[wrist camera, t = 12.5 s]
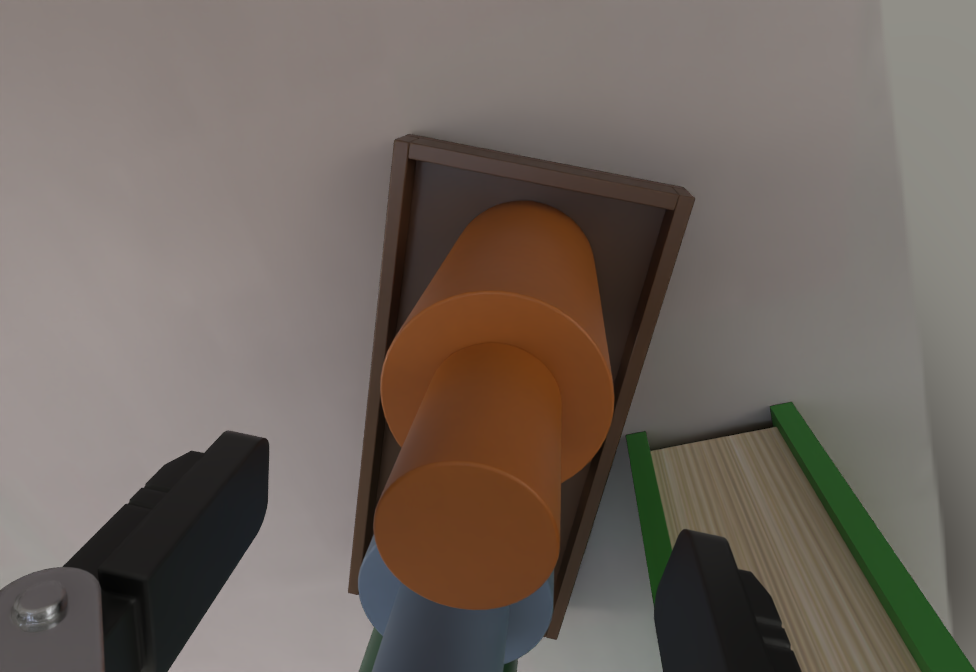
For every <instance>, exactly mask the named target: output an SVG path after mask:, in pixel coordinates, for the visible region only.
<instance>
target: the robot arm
mask: <svg viewBox="0 0 976 672" xmlns="http://www.w3.org/2000/svg"><path fill="white" fill-rule="evenodd" d="M268 474H269V443H268V440H267V439H266V438H262V437H257V436H252V435H248V434H243V433H238V432H233V431H225V432H224V433H223V434H222V435H221V436H220V437H219V438H218V439H217V440H216V441H215V442H214V443H213V444H212V445H211V446H210V447H209V448H208V450H207V451H206V452H205V453H200V452H196V451H190V452H188V453H186V454H184V455H182V456H180V457H179V458H177V459H175V460H173V461H171V462H169V463H167V464H165V465H164V466H163V467H162V468H161V469H160V470H159V471H158V472H157V473H156V474H155V475H154V476H153V477H152V478H151V479H150V480H149V481H148V482H147V483H146V485H145V487H144V488H141V489H140V490H139V491H138V492H137V493H136V494H135V495H134V496H133V497H132V498H131V499H130V501H129V503H128V504H125V505H124V506H123V507H122V508H121V509H120V510H119V511H118V512H117V513H116V514H115V515H114V516H113V517H112V518H111V519H110V520H109V521H108V522H107V523H106V524H105V525H104V526H103V527H102V528H101V529H100V530H99V531H98V532H97V533H96V534H95V535H94V536H93V537H92V538H91V539H90V540H89V541H88V542H87V543H86V544H85V545H84V546H83V547H82V548H81V549H80V550H79V551H78V552H77V553H76V554H75V555H74V556H73V557H72V558H71V559H70V560H69V561H68V562H67V563H66V564H65V565H64V566H63V567H57V568H50V569H44V570H40V571H37V572H33V573H31V574H28V575H26V576H23V577H21V578H19V579H17V580H15V581H13V582H11V583H10V584H8V585H7V586H5V587H4V588H2V589H1V590H0V672H168V670H169V669H170V667H171V665H172V664H173V662H174V661H175V659H176V658H177V656H178V655H179V653H180V652H181V650H182V649H183V647H184V646H185V644H186V642H187V641H188V639H189V638H190V636H191V635H192V633H193V632H194V630H195V629H196V627H197V626H198V624H199V623H200V621H201V619H202V618H203V616H204V615H205V613H206V612H207V610H208V609H209V607H210V606H211V604H212V603H213V601H214V600H215V598H216V596H217V595H218V593H219V592H220V590H221V589H222V587H223V586H224V584H225V583H226V581H227V580H228V578H229V576H230V575H231V573H232V572H233V570H234V569H235V567H236V566H237V564H238V563H239V561H240V560H241V558H242V557H243V555H244V553H245V552H246V550H247V549H248V547H249V546H250V544H251V543H252V541H253V540H254V538H255V537H256V535H257V533H258V531H259V530H260V527H261V525H262V523H263V520H264V517H265V513H266V509H267V503H268ZM654 620H655V627H656V633H657V638H658V644H659V650H660V656H661V662H662V668H663V672H802V671H801V668H800V666H799V664H798V661H797V659H796V656H795V654H794V651H793V650H791V648H790V647H791V644H790V641H789V639H788V636H787V634H786V631H785V629H784V628H782V621H781V619H780V616H779V614H778V611H777V609H776V606H775V604H774V601H773V599H772V596H771V595H770V594H769V593H768V592H767V590H766V589H765V588H764V587H763V585H762V584H761V583H760V582H759V580H758V579H757V578H756V577H755V576H754V574H753V573H752V572H750V571H746V570H741V569H738V567H737V564H736V562H735V559H734V556H733V553H732V550H731V548H730V545H729V542H728V541H727V539H726V538H725V537H722V536H717V535H712V534H708V533H703V532H698V531H693V530H689V529H683V530H682V531H681V532H680V533H679V535H678V537H677V540H676V542H675V545H674V547H673V550H672V552H671V555H670V558H669V560H668V563H667V565H666V568H665V570H664V573H663V575H662V578H661V580H660V583H659V585H658V588H657V592H656V597H655V605H654Z"/></svg>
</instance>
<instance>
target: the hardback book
mask: <svg viewBox="0 0 976 672" xmlns="http://www.w3.org/2000/svg"><path fill="white" fill-rule="evenodd" d="M770 410H771V416H772V422H773V428H768V429H762V430H757V431H752V432H747V433H742V434H736V435H731V436H726V437H721V438H716V439H710V440H705V441H700V442H695V443H690V444H684V445H679V446H674V447H669V448H664V449H658V450H653V451H650V447H649V443H648V439H647V435H646V431H644V432H639V433H634V434H629V435H626V440H627V446H628V452H629V458H630V464H631V470H632V476H633V482H634V488H635V494H636V500H637V506H638V512H639V518H640V524H641V530H642V536H643V542H644V548H645V554H646V561H647V567H648V573H649V579H650V585H651V591H652V597H653V603H654V605H655V597H656V592H657V588H658V585H659V583H660V580H661V578H662V575H663V573H664V570H665V568H666V565H667V563H668V560H669V558H670V555H671V552H672V550H673V547H674V545H675V542H676V540H677V537H678V535H679V533H680V532H681V531H682V530H683V529H689V530H693V531H698V532H703V533H708V534H712V535H717V536H722V537H725V538H726V539H727V541H728V542H729V545H730V548H731V550H732V553H733V556H734V559H735V562H736V564H737V567H738V569H741V570H746V571H750V572H752V573H753V574H754V576H755V577H756V578H757V579H758V580H759V582H760V583H761V584H762V585H763V587H764V588H765V589H766V590H767V592H768V593H769V594H770V595H771V596H772V599H773V601H774V604H775V606H776V609H777V611H778V614H779V616H780V619H781V621H782V628H784V629H785V631H786V634H787V636H788V639H789V641H790V644H791V647H790V648H791V650H793V651H794V654H795V656H796V659H797V661H798V664H799V666H800V668H801V671H802V672H976V671H975V670H974V668H973V667H972V665H971V664H970V662H969V661H968V659H967V658H966V656H965V655H964V654H963V652H962V651H961V649H960V648H959V646H958V645H957V644H956V642H955V640H954V639H953V637H952V636H951V634H950V633H949V632H948V630H947V629H946V627H945V626H944V624H943V623H942V621H941V620H940V618H939V617H938V615H937V614H936V613H935V611H934V610H933V608H932V607H931V605H930V604H929V602H928V601H927V599H926V598H925V596H924V595H923V593H922V592H921V591H920V589H919V588H918V586H917V585H916V583H915V582H914V580H913V579H912V577H911V576H910V574H909V573H908V572H907V570H906V569H905V567H904V566H903V564H902V563H901V561H900V560H899V558H898V557H897V555H896V554H895V553H894V551H893V550H892V548H891V547H890V545H889V544H888V542H887V541H886V539H885V538H884V536H883V535H882V533H881V532H880V531H879V529H878V528H877V526H876V525H875V523H874V522H873V520H872V519H871V517H870V516H869V514H868V513H867V512H866V510H865V509H864V507H863V506H862V504H861V503H860V501H859V500H858V498H857V497H856V495H855V494H854V492H853V491H852V490H851V488H850V487H849V485H848V484H847V482H846V481H845V479H844V478H843V476H842V475H841V473H840V472H839V471H838V469H837V468H836V466H835V465H834V463H833V462H832V460H831V459H830V457H829V456H828V454H827V453H826V452H825V450H824V449H823V447H822V446H821V444H820V443H819V441H818V440H817V438H816V437H815V435H814V434H813V432H812V431H811V430H810V428H809V427H808V425H807V424H806V422H805V421H804V419H803V418H802V416H801V415H800V413H799V412H798V411H797V409H796V408H795V406H794V405H793V403H792V402H789V403H784V404H779V405H774V406H770Z"/></svg>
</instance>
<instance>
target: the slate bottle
mask: <svg viewBox="0 0 976 672" xmlns="http://www.w3.org/2000/svg"><path fill="white" fill-rule="evenodd" d="M358 590H359V597H360V601H361V604H362V607H363V609H364V611H365V613H366V615H367V617H368V619H369V620H370V622H371V623H372V625H373V626H374V627H375V628H376V630H377V631H378V632H379V633H380V634H381V635H382V636H383V638H382V641H381V645H380V648H379V651H378V654H377V657H376V660H375V663H374V666H373V669H372V672H503V667H504V664H506V663H509V662H511V661H514V660H516V659H518V658H520V657H521V656H523V655H525V654H526V653H528V652H529V651H530V650H531V649H532V648H534V647H535V646H536V645H537V644H538V643H539V641H540V640H541V639H542V638H543V636H544V634H545V633H546V631H547V629H548V627H549V625H550V622H551V619H552V614H553V599H554V570H553V571H552V573H551V575H550V576H549V578H548V579H547V580H546V582H545V583H544V584H543V585H542V586H541V587H540V588H539V589H538V590H537V591H536V592H534V593H533V594H531V595H530V596H528V597H527V598H525V599H523V600H521V601H519V602H517V603H514V604H511V605H508V606H505V607H500V608H496V609H488V610H467V609H459V608H453V607H449V606H445V605H442V604H439V603H436V602H433V601H431V600H428V599H426V598H424V597H422V596H420V595H419V594H417V593H415V592H414V591H412V590H411V589H409V588H408V587H407V586H405V585H404V584H403V583H401V582H400V581H399V580H398V579H397V578H396V577H395V576H394V575H393V574H392V572H391V571H390V570H389V569H388V567H387V566H386V564H385V563H384V561H383V560H382V558H381V556H380V553H379V551H378V549H377V545H376V542H375V538H374V535H373V538H372V540H371V542H370V545H369V547H368V550H367V552H366V555H365V557H364V559H363V562H362V564H361V567H360V571H359V576H358Z"/></svg>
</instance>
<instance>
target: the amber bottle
mask: <svg viewBox="0 0 976 672" xmlns="http://www.w3.org/2000/svg"><path fill="white" fill-rule="evenodd" d="M380 394H381V403H382V407H383V411H384V415H385V418H386V421H387V423H388V426H389V428H390V430H391V432H392V434H393V436H394V438H395V439H396V441H397V443H398V444H399V445H400V447H401V448H402V449H401V451H400V453H399V455H398V458H397V460H396V462H395V465H394V467H393V469H392V472H391V474H390V476H389V478H388V481H387V483H386V485H385V488H384V490H383V492H382V495H381V497H380V499H379V502H378V504H377V507H376V509H375V514H374V522H373V530H374V538H375V542H376V545H377V549H378V551H379V553H380V556H381V558H382V560H383V561H384V563H385V564H386V566H387V567H388V569H389V570H390V571H391V572H392V574H393V575H394V576H395V577H396V578H397V579H398V580H399V581H400V582H401V583H403V584H404V585H405V586H407V587H408V588H409V589H411V590H412V591H414V592H415V593H417V594H419V595H420V596H422V597H424V598H426V599H428V600H431V601H433V602H436V603H439V604H442V605H445V606H449V607H453V608H459V609H467V610H488V609H496V608H500V607H505V606H508V605H511V604H514V603H517V602H519V601H521V600H523V599H525V598H527V597H528V596H530V595H531V594H533V593H534V592H536V591H537V590H538V589H539V588H540V587H541V586H542V585H543V584H544V583H545V582H546V580H547V579H548V578H549V576H550V575H551V573H552V571H553V570H554V568H555V566H556V563H557V560H558V557H559V552H560V514H561V483H563V482H564V481H566V480H568V479H570V478H571V477H572V476H574V475H575V474H577V473H578V472H579V471H581V470H582V469H583V468H584V467H585V466H586V465H587V464H588V463H589V462H590V461H591V459H592V458H593V457H594V456H595V454H596V453H597V452H598V450H599V449H600V447H601V446H602V444H603V442H604V440H605V438H606V436H607V434H608V431H609V428H610V426H611V422H612V417H613V413H614V387H613V379H612V373H611V366H610V360H609V353H608V346H607V340H606V333H605V327H604V320H603V314H602V307H601V300H600V294H599V287H598V281H597V274H596V268H595V261H594V256H593V252H592V249H591V246H590V244H589V241H588V240H587V238H586V236H585V234H584V233H583V231H582V230H581V229H580V227H579V226H578V225H577V224H576V223H575V222H574V221H573V220H572V219H571V218H570V217H568V216H567V215H566V214H564V213H563V212H561V211H559V210H558V209H556V208H554V207H551V206H549V205H547V204H543V203H539V202H534V201H511V202H505V203H502V204H498V205H496V206H493V207H491V208H489V209H487V210H485V211H484V212H482V213H481V214H479V215H478V216H477V217H476V218H474V219H473V220H472V221H471V222H470V223H469V224H468V225H467V227H466V228H465V229H464V231H463V232H462V233H461V235H460V237H459V238H458V240H457V241H456V243H455V244H454V246H453V248H452V249H451V251H450V252H449V254H448V255H447V257H446V258H445V260H444V262H443V263H442V265H441V266H440V268H439V269H438V271H437V273H436V274H435V276H434V277H433V279H432V280H431V282H430V283H429V285H428V287H427V288H426V290H425V291H424V293H423V294H422V296H421V297H420V299H419V301H418V302H417V304H416V305H415V307H414V308H413V310H412V312H411V313H410V315H409V316H408V318H407V319H406V321H405V322H404V324H403V326H402V327H401V329H400V330H399V332H398V333H397V335H396V336H395V338H394V340H393V342H392V344H391V345H390V347H389V349H388V351H387V354H386V357H385V360H384V363H383V367H382V372H381V380H380Z"/></svg>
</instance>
